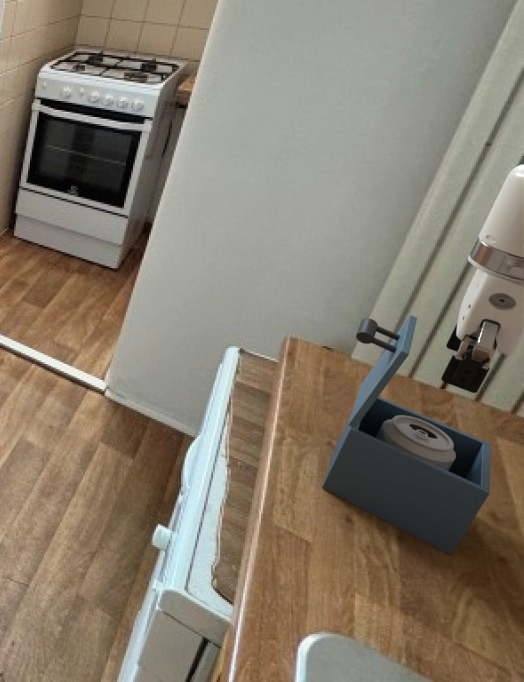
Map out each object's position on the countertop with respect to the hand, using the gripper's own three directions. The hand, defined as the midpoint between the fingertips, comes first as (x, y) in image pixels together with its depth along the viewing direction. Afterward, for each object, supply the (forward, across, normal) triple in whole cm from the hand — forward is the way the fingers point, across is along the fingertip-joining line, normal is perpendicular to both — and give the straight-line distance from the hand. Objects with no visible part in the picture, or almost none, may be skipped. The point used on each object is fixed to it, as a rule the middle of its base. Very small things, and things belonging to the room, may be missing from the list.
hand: (460, 368), depth 81 cm
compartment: (+24, -1, +1) cm, 24 cm away
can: (+24, 0, +1) cm, 24 cm away
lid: (+5, 0, +6) cm, 8 cm away
